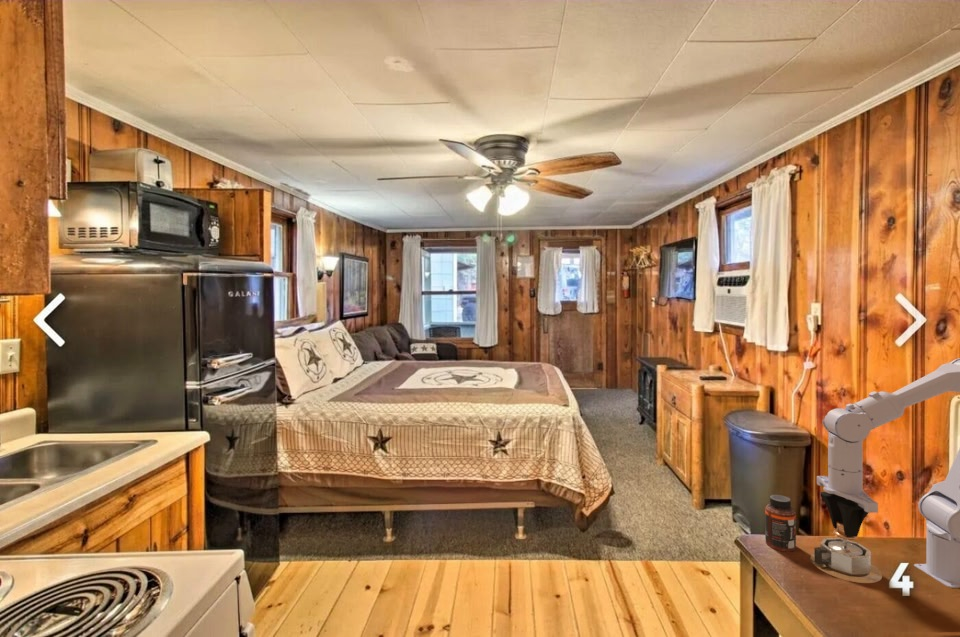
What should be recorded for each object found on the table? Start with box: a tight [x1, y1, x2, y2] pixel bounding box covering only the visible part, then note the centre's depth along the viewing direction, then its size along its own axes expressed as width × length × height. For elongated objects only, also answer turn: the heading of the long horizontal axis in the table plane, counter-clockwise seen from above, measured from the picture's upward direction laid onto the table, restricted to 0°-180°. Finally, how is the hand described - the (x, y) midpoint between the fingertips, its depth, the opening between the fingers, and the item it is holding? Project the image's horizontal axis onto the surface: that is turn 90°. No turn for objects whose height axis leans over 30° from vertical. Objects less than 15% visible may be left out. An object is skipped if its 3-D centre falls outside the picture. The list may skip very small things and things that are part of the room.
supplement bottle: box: [764, 494, 797, 553], centre depth 110 cm, size 6×6×11 cm
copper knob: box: [828, 521, 863, 556], centre depth 101 cm, size 6×6×6 cm
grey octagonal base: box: [809, 537, 883, 584], centre depth 101 cm, size 12×12×4 cm
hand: (845, 531), depth 100 cm, fingers closed on copper knob, 3 cm apart
